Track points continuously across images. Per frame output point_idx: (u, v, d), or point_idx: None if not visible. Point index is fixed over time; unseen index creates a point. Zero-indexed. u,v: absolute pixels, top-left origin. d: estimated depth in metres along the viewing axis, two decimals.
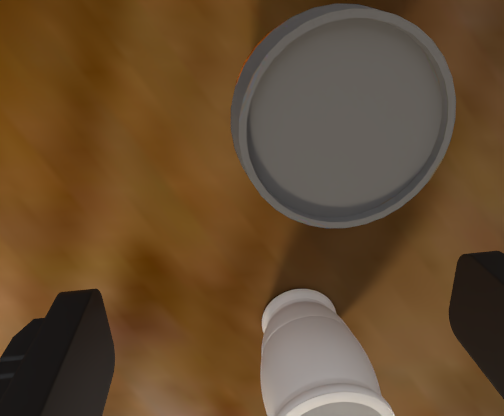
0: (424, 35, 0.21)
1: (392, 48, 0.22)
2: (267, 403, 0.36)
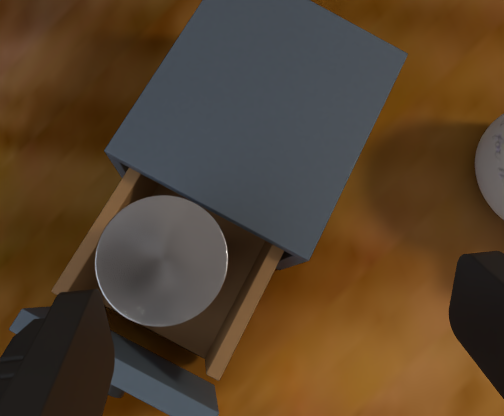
0: None
1: None
2: None
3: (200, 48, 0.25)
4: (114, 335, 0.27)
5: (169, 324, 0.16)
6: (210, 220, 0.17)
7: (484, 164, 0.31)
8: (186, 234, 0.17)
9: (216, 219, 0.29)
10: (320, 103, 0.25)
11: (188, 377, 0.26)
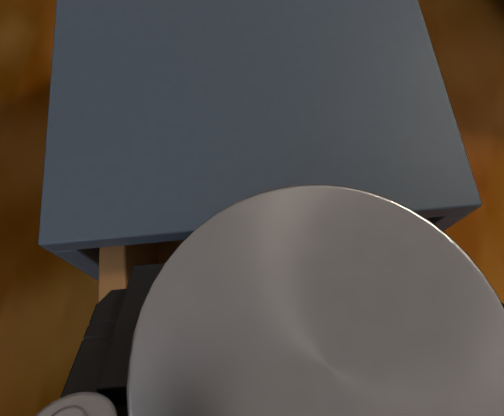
0: None
1: None
2: None
3: (98, 11, 0.14)
4: None
5: None
6: (364, 199, 0.06)
7: None
8: (338, 265, 0.06)
9: None
10: None
11: None
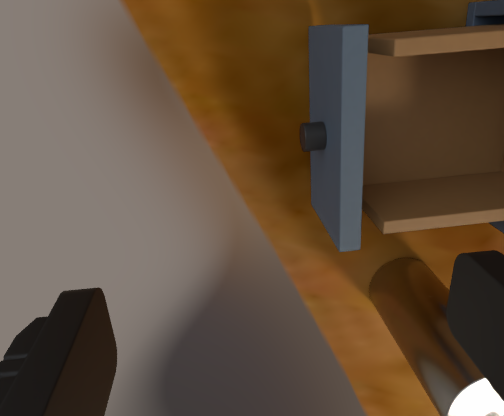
0: None
1: None
2: None
3: None
4: None
5: None
6: None
7: None
8: None
9: (483, 118, 0.27)
10: None
11: None
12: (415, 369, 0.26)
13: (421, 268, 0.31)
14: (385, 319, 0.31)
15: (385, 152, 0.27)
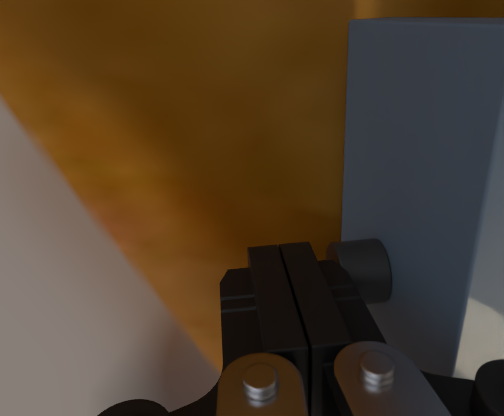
0: None
1: None
2: None
3: None
4: None
5: None
6: None
7: None
8: None
9: None
10: None
11: None
12: None
13: None
14: None
15: None
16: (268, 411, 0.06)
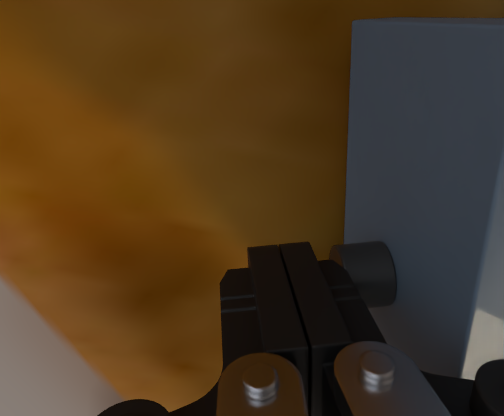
0: None
1: None
2: None
3: None
4: None
5: None
6: None
7: None
8: None
9: None
10: None
11: None
12: None
13: None
14: None
15: None
16: (268, 411, 0.06)
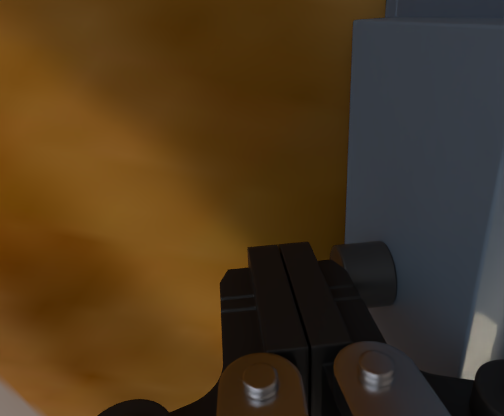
0: None
1: None
2: None
3: None
4: None
5: None
6: None
7: None
8: None
9: None
10: None
11: None
12: None
13: None
14: None
15: None
16: (268, 411, 0.05)
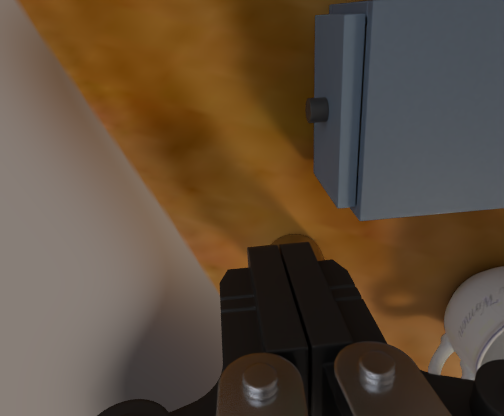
0: None
1: None
2: None
3: None
4: None
5: None
6: None
7: (488, 281, 0.36)
8: None
9: None
10: (500, 158, 0.26)
11: None
12: None
13: None
14: None
15: None
16: (268, 411, 0.06)
